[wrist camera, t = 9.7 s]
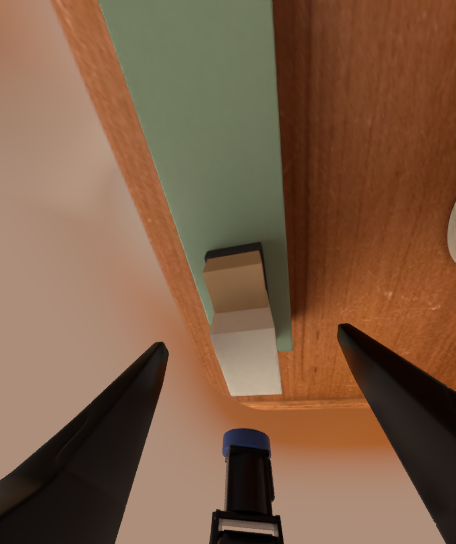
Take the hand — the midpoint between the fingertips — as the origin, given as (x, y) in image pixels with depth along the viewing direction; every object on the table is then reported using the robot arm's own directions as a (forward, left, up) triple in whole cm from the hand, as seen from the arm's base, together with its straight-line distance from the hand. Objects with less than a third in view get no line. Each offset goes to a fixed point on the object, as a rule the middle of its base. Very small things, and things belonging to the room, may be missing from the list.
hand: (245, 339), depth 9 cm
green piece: (-2, +5, -6) cm, 8 cm away
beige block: (0, 0, -3) cm, 3 cm away
